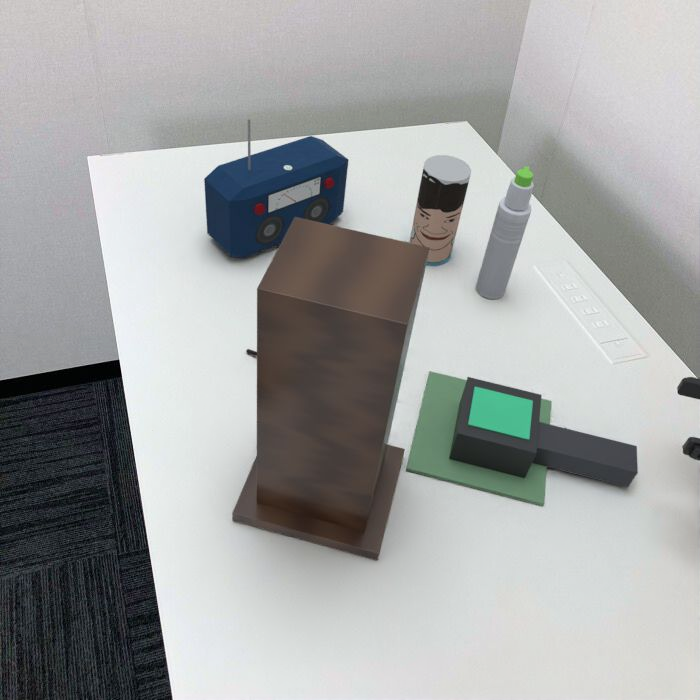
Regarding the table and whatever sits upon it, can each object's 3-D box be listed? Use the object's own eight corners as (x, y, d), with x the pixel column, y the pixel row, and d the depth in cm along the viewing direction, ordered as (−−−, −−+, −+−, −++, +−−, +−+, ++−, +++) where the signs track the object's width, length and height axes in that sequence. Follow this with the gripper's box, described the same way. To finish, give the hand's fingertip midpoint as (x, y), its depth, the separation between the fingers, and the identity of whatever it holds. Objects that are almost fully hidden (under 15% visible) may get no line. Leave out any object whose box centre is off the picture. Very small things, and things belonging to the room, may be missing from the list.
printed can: (399, 252, 113) (414, 167, 103) (422, 233, 117) (439, 149, 107) (436, 271, 111) (455, 187, 100) (458, 251, 115) (479, 167, 104)
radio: (236, 268, 107) (233, 146, 93) (204, 237, 112) (197, 116, 97) (347, 223, 117) (360, 107, 103) (314, 196, 122) (322, 81, 107)
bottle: (509, 289, 110) (547, 173, 95) (496, 303, 107) (533, 186, 93) (484, 276, 111) (517, 160, 97) (470, 290, 109) (502, 173, 94)
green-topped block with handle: (627, 444, 90) (643, 418, 87) (628, 505, 84) (646, 479, 80) (459, 403, 93) (468, 375, 89) (449, 459, 86) (457, 432, 83)
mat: (550, 403, 95) (551, 400, 94) (543, 506, 84) (544, 504, 83) (429, 373, 96) (429, 370, 96) (405, 470, 85) (406, 468, 85)
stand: (403, 456, 87) (456, 238, 64) (377, 560, 77) (429, 348, 54) (273, 422, 88) (279, 199, 65) (232, 520, 79) (222, 298, 56)
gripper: (844, 378, 79) (691, 344, 81) (878, 486, 69) (703, 444, 71) (807, 422, 85) (664, 388, 86) (834, 527, 75) (672, 487, 77)
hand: (682, 414), depth 79 cm, fingers open, 8 cm apart
